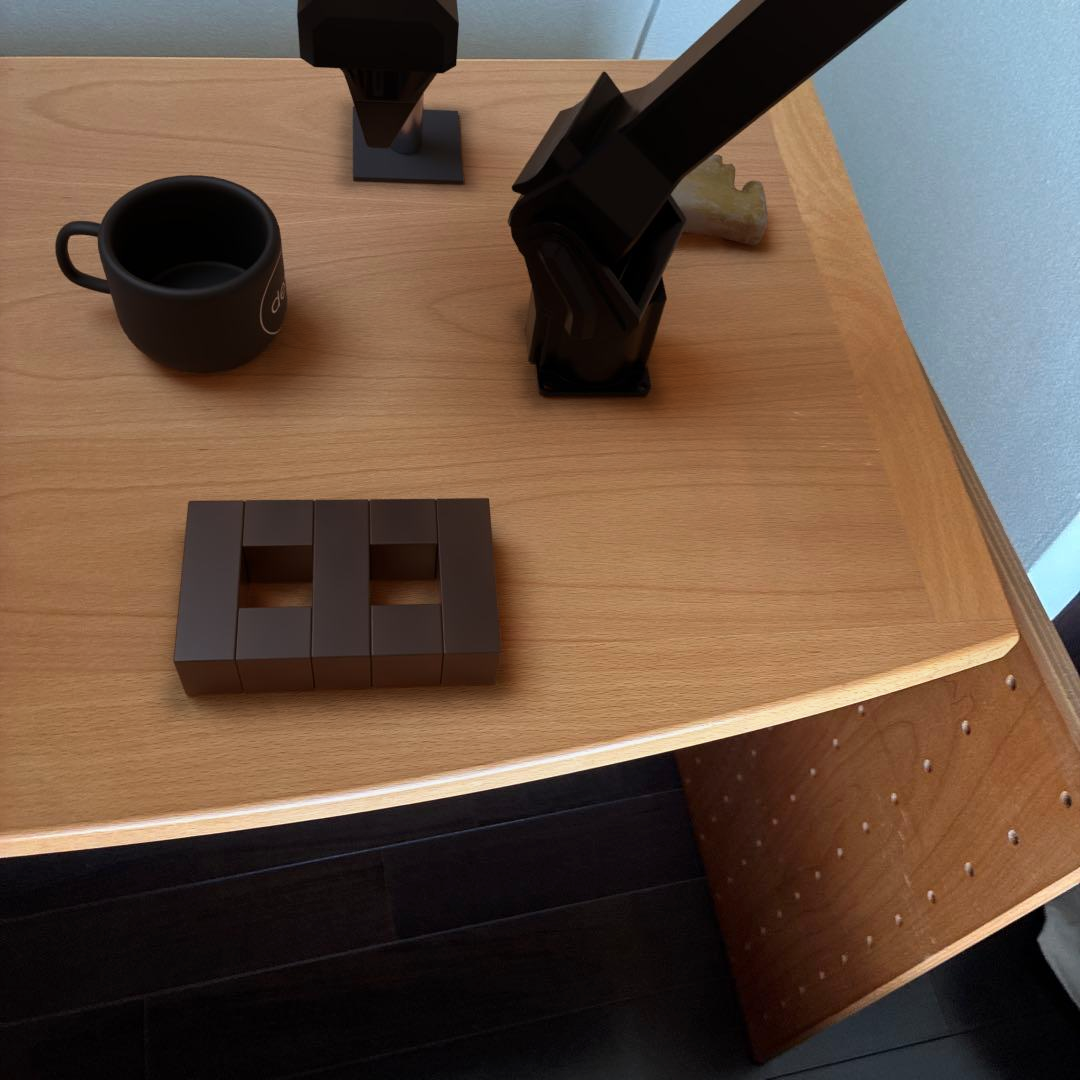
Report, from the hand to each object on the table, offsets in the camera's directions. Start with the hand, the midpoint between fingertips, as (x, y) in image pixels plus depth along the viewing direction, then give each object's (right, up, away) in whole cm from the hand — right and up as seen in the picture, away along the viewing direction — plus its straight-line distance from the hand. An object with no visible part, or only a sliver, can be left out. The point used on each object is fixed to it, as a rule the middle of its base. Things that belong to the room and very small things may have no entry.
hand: (377, 85), depth 55 cm
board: (-1, -26, -1) cm, 26 cm away
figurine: (+15, -2, +17) cm, 22 cm away
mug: (-12, -11, +7) cm, 18 cm away
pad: (-1, +3, +18) cm, 18 cm away
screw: (-1, +3, +17) cm, 18 cm away
